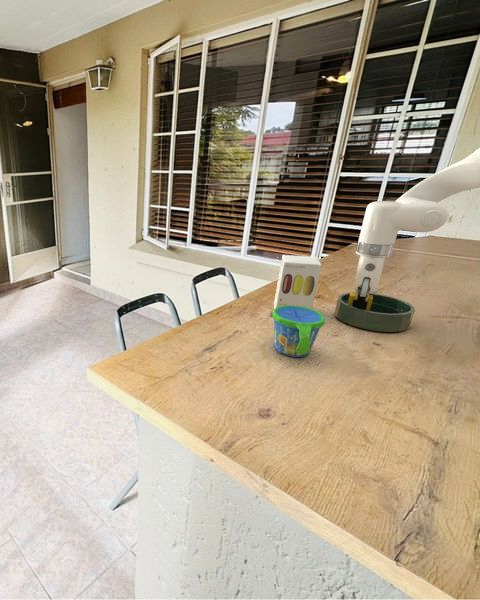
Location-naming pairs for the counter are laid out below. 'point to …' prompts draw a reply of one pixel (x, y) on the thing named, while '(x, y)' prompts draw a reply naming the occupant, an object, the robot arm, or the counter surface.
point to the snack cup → (296, 329)
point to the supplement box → (297, 281)
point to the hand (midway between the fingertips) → (357, 310)
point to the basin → (376, 313)
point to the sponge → (352, 297)
